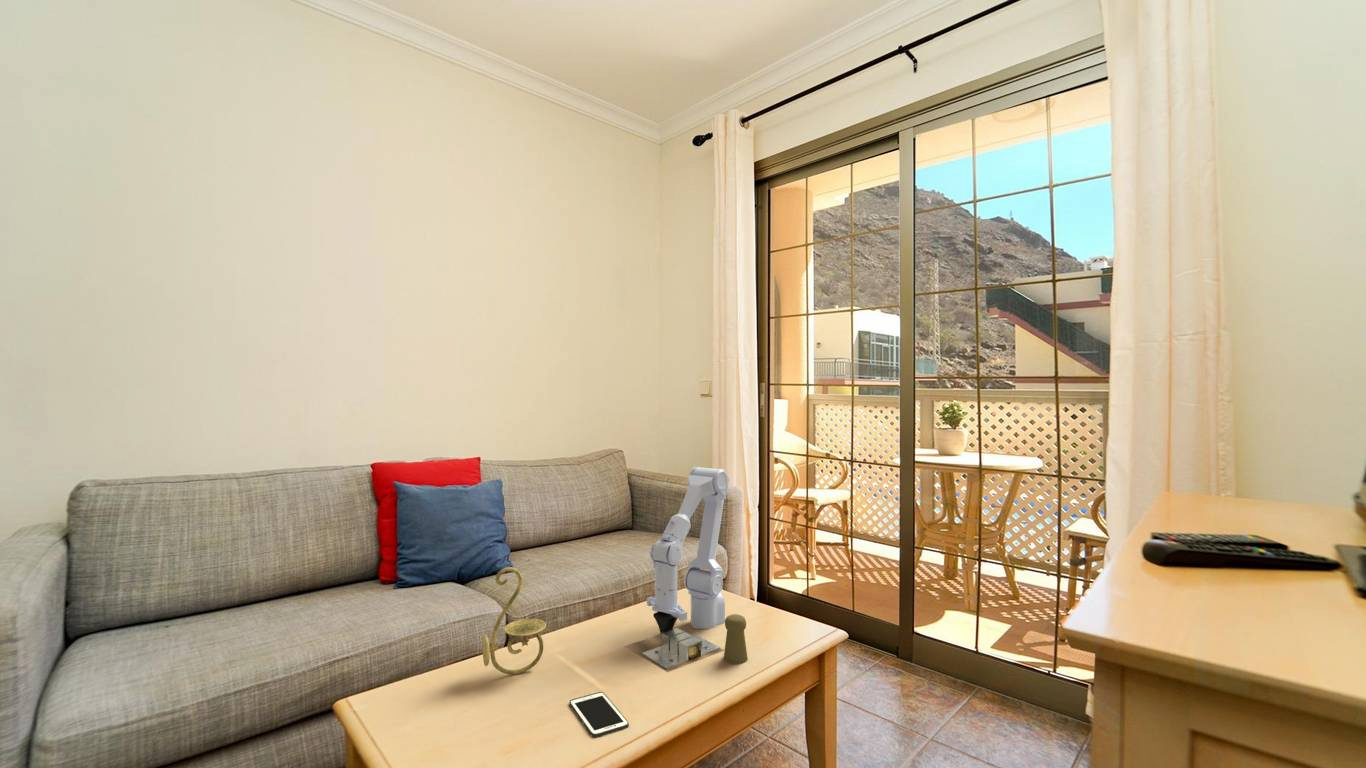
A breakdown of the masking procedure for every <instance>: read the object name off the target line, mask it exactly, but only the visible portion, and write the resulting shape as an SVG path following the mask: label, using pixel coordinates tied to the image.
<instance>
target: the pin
mask: <svg viewBox="0 0 1366 768" xmlns="http://www.w3.org/2000/svg"><path fill="white" fill-rule="evenodd" d="M697 655H698V648H697V647H695V646H690V647H688V657H689V658H691V659H695V658H696V657H697Z"/></svg>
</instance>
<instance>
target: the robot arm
mask: <svg viewBox="0 0 1366 768" xmlns="http://www.w3.org/2000/svg"><path fill="white" fill-rule="evenodd" d="M729 481H730V479H729V476H728V474H727V473H726V471H725V470H724V469H723V468H709V467H699V466H694V467H693V468H692V469H691V470H690V473H689V475H688V476H687V486H688V488H687V490H686V493H685V495H684V498H683V500H682V502H681V505H680V508H679V509H678V513H677V514H674V515H672V516H671V518H670V519H669V522H668V523H667V525H666V527H665V529H664V531H663V533H662V535H661V537H660V539H658V540H656V541H655V542H654V543H653V544H652V545H651V548H650V552H649V557H650V559H651V561H652V565H653V566H652V567H653V569H654V596H649V597H647V598H646V606H648V607H651V610H652V611H654V613H653V614H652V615H653V618H654V619H655V622H656V624H657V625H658V630H659V633H660V634H661V638H662V633H663V632H666V631H669V630H672V629H674V627H675V625H676V622H677V620H678V621H679V622H684V621H686V620H688V612H687V611H685V610H684V608H682V606H680V605H679V603H678V564H679V562H680V561H681V560H682V556H683V549H684V541H685V539H686V537H687V535H688V534H689V531H690V529H691V527H692V524H691V521H690V519H692V516H693V514H694V513H695V511H696V510H697V508H698V507H699V504H700V502H701V501H702V499H703V501H704V508H703V514H702V515H703V516H702V522H701V528H700V534H699V542H698V548H697V553H696V554H697V555H696V558H694V559H692V560H691V561H689V563H688V567H687V571H686V572H685V573H684V576H683V577H684V578H683V583H684V587H685V589H686V590H687V591H688V594H689V595H690V626H692V627H693V628H695V629H697V630H698V629H699V630H709V629H712V628H715V627H717V626H718V625H721V624H725V619H726V601H725V597H724V596H723V594H722V593H721V591H722V590H723V586H724V580H723V570H724V569H723V568H722V567H721V566H720V564H719V563H718V562H717V561H716V557H717V550H718V544H719V537H720V536H719V535H720V529H721V523H722V517H723V509H724V503H725V502H724V501H725V500H726V499H727V493H728V486H729ZM660 634H659V635H660Z"/></svg>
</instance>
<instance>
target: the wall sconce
mask: <svg viewBox="0 0 1366 768" xmlns="http://www.w3.org/2000/svg"><path fill="white" fill-rule="evenodd" d="M506 572H512V573H514V574H515V575H516V577H517V578H518V584H517V588H516V589H515V591H514V593H513V595H512V596H511V597H510V598H509V600H508V601H507V603H506V605H505V606H504V607H503V609H502V611H501V612H500V614H499V616H498V618H497V620H496V623H495V625H494V628H493V630H492V634H491V638H490V642H489V637H488V635H487V634H486V633H485V634H483V635H482V645H481V646H482V648H481V649H482V658H483V665H484V667H487V666H488V665H489V663H490V660H491V664H492V666H493V668H495V669H496V670H497V671H498V672H500V673H503V674H505V675H513V676H514V675H519V674H522V673H525V672H527V671H529V670H531V669H533V667H535V666H536V665H537V664H538V662H539V661H540V660H541V658H542V655H543V652H544V641H543V637H542V635H541V634H540V633H541V632H543V631H544V630H545V628H546V626H547V623H546V622H545V621H544V620H542V619H538V618H523V619H518V620H514V621H511V622H509V623H507V624H506V625H505V626H504V629H503V631H504V633H505V634H507V635H510V636H511V637H510V638H509V639H508V642H507V644H506V645H507V646H506V647H507V651H508V653H510V654H511V655H517V654H518V655H519V654H520V653H522V651H523V649H521V648H518V649H513V647H512V644H513V642H514V641H515V640H516V639H518V638H521V637H522V638H523V640H520V641H519V642H520V643H521V647H524V646H529V644H528V643H529V642H530V639H527V637H529V636H532V635H533V636H535V637H536V639H537V641H538V645H539V646H538V648H539V649H538V653H537V656H536V658H534V659H533V661H532V662H530V663H529V664H527V665H526V666H524V667H521V668H519V669H507V668H504V667H502V666H501V665H500V664H499V663H498V661H497V659H496V654H495V652H496V651H498V645H497V644H496V638H497V633H498V630H499V628H500V625H501V623H502V621H503V618H504V617H505V615H506V614H507V612H508V610H509V609H510V607H511V606H512V605H513V603H514V602H515V600H516V598H518V595H519V594H520V592H521V589H522V586H523V582H524V581H523V575H522V573H521V572H520V571H519V570H518V569H517V568H515V567H512V566H511V567H510V566H508V567H504V568H501V569H500V570H499V571H498V572H497V573H496V575H495V583H496V584H498V585H499V586H504V585H506V584H507V583H508V579H507V578H505V580H503V581H501V580H500V577H501V576H502V575H503V574H504V573H506Z"/></svg>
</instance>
